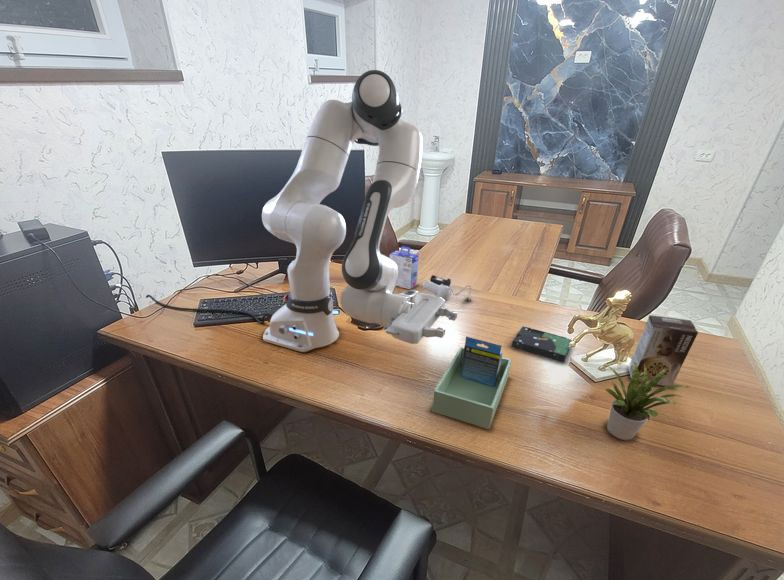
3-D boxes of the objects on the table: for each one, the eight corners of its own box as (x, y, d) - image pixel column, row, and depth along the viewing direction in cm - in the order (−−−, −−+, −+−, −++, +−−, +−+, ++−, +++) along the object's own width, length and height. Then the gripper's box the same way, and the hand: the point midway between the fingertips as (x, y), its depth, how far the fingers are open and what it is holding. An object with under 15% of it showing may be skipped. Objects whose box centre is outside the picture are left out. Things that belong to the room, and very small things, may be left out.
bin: (489, 429, 85) (493, 408, 82) (432, 411, 90) (434, 390, 86) (507, 379, 100) (511, 359, 97) (458, 365, 105) (460, 346, 102)
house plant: (680, 454, 79) (719, 392, 70) (622, 465, 77) (653, 402, 68) (630, 408, 91) (657, 350, 82) (577, 416, 88) (599, 357, 80)
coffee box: (665, 373, 103) (692, 319, 94) (671, 388, 97) (700, 332, 89) (626, 366, 105) (649, 313, 96) (631, 380, 100) (655, 326, 91)
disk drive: (510, 349, 112) (564, 364, 106) (512, 340, 111) (567, 355, 104) (520, 333, 120) (571, 346, 113) (522, 325, 118) (574, 338, 112)
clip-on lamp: (473, 302, 144) (430, 283, 149) (479, 287, 141) (435, 267, 145) (463, 312, 135) (418, 291, 140) (470, 296, 131) (423, 275, 136)
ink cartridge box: (417, 284, 150) (419, 248, 142) (411, 290, 146) (412, 252, 138) (395, 279, 154) (396, 243, 146) (388, 284, 150) (388, 247, 142)
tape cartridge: (498, 379, 99) (506, 338, 92) (494, 388, 96) (502, 346, 89) (464, 369, 103) (470, 329, 96) (459, 377, 100) (465, 336, 93)
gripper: (380, 319, 90) (436, 332, 85) (414, 287, 105) (464, 297, 100) (380, 342, 93) (434, 356, 88) (413, 307, 109) (461, 318, 104)
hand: (450, 324), depth 95 cm, fingers open, 8 cm apart
